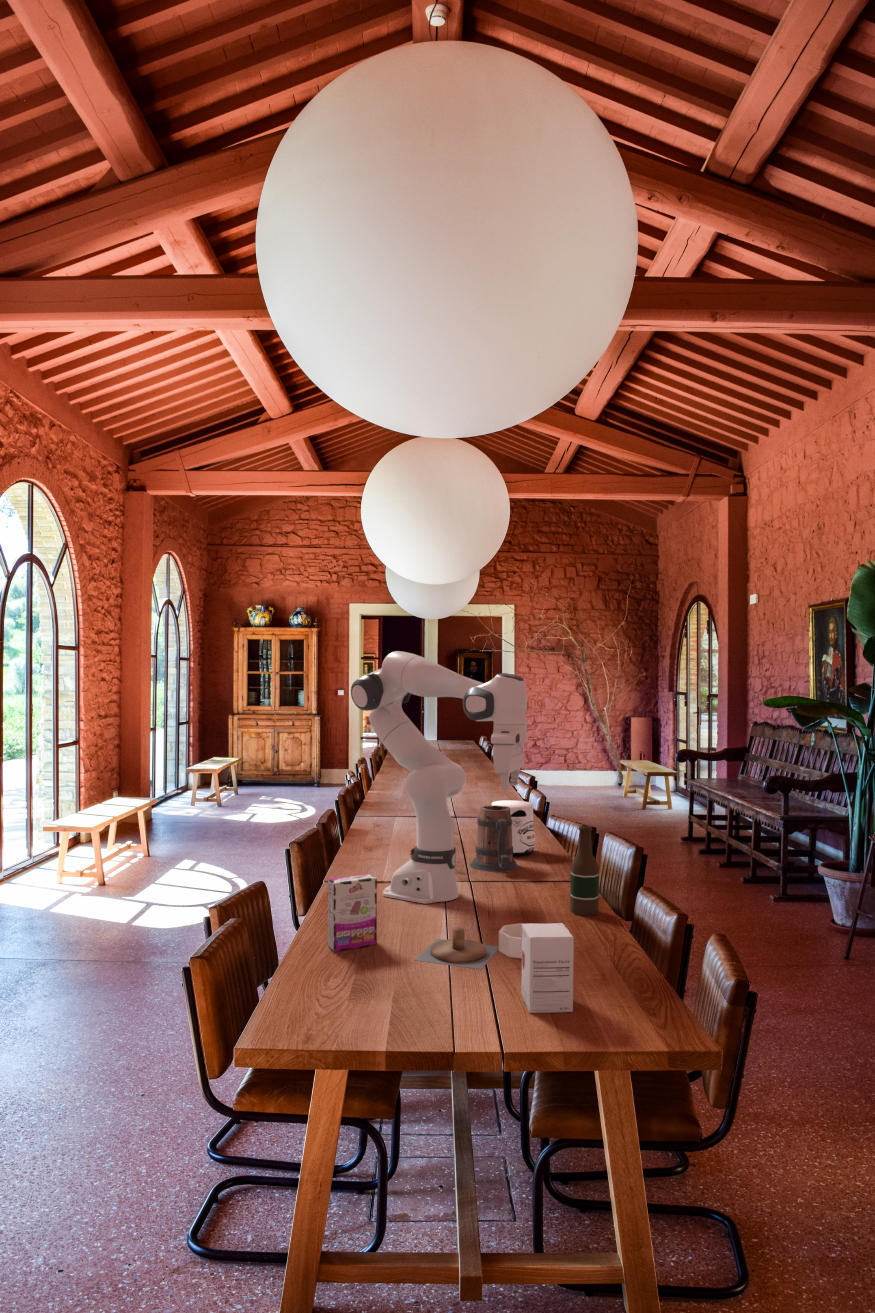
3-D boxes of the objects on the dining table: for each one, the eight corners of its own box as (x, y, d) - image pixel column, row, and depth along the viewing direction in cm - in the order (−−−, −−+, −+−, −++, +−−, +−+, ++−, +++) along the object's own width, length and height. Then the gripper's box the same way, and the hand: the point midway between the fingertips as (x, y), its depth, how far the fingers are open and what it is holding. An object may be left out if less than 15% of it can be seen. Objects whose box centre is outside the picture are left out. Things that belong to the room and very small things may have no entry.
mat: (414, 962, 188) (414, 960, 188) (437, 941, 203) (437, 938, 203) (481, 972, 183) (481, 969, 183) (500, 949, 198) (500, 946, 198)
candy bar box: (369, 940, 204) (370, 873, 204) (377, 946, 199) (378, 877, 199) (326, 946, 198) (327, 878, 199) (333, 953, 194) (334, 882, 194)
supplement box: (520, 995, 170) (521, 922, 170) (562, 995, 171) (563, 922, 171) (528, 1014, 161) (529, 937, 161) (573, 1013, 162) (574, 936, 162)
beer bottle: (598, 917, 225) (599, 829, 225) (569, 915, 226) (570, 827, 226) (598, 909, 232) (599, 824, 233) (570, 907, 234) (571, 822, 234)
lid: (422, 959, 189) (422, 934, 189) (441, 941, 201) (441, 918, 201) (477, 966, 185) (477, 941, 185) (492, 948, 197) (492, 924, 197)
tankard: (464, 860, 289) (465, 803, 289) (511, 859, 292) (512, 802, 292) (480, 877, 266) (480, 815, 266) (530, 876, 269) (531, 814, 269)
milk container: (537, 858, 294) (538, 808, 294) (489, 857, 294) (489, 807, 294) (532, 848, 311) (533, 800, 312) (486, 847, 311) (487, 799, 312)
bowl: (494, 957, 192) (494, 935, 192) (507, 942, 203) (507, 921, 203) (543, 963, 189) (543, 941, 189) (553, 947, 199) (553, 927, 200)
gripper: (507, 732, 228) (507, 782, 228) (489, 737, 209) (488, 792, 208) (530, 732, 226) (530, 783, 226) (513, 738, 207) (513, 793, 206)
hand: (510, 787), depth 217 cm, fingers open, 8 cm apart
